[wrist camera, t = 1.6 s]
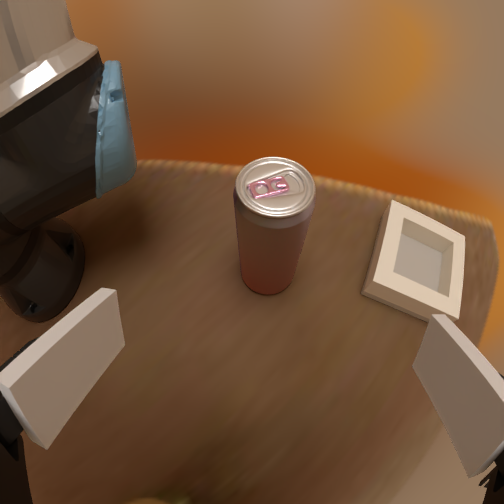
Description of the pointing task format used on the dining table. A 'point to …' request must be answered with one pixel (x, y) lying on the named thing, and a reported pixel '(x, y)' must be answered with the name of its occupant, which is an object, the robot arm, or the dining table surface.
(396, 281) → the holder
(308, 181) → the beverage can
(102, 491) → the dining table surface
